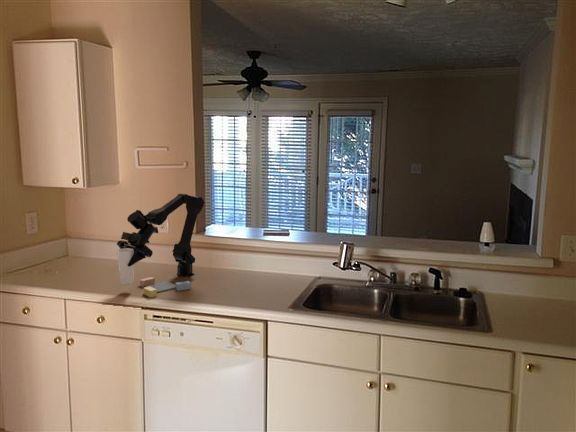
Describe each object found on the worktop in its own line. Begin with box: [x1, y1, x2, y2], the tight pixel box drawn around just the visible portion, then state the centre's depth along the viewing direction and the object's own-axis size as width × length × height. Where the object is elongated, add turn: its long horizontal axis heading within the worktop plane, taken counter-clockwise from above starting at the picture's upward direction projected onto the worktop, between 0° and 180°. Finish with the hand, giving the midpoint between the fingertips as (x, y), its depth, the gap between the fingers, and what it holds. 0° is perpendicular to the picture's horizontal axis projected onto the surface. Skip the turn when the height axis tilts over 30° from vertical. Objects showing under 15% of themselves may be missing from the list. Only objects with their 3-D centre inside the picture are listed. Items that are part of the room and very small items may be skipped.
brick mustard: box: [142, 286, 158, 298], centre depth 205 cm, size 6×3×3 cm, turn 44°
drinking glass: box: [117, 248, 135, 286], centre depth 207 cm, size 7×7×15 cm
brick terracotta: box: [139, 276, 156, 288], centre depth 219 cm, size 6×3×3 cm, turn 138°
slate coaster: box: [144, 280, 176, 294], centre depth 215 cm, size 11×11×1 cm
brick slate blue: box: [175, 280, 192, 291], centre depth 214 cm, size 6×3×3 cm, turn 120°
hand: (123, 264), depth 206 cm, fingers closed on drinking glass, 6 cm apart
